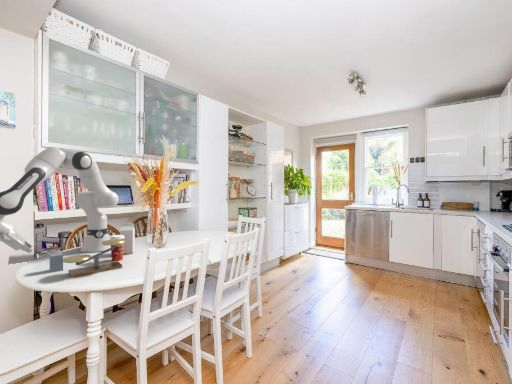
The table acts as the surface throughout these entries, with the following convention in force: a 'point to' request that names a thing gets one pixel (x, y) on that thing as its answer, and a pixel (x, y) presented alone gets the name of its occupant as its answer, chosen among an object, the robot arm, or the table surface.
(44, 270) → the table surface
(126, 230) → the milk carton
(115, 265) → the balance
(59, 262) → the block
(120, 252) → the paper cup
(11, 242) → the robot arm
